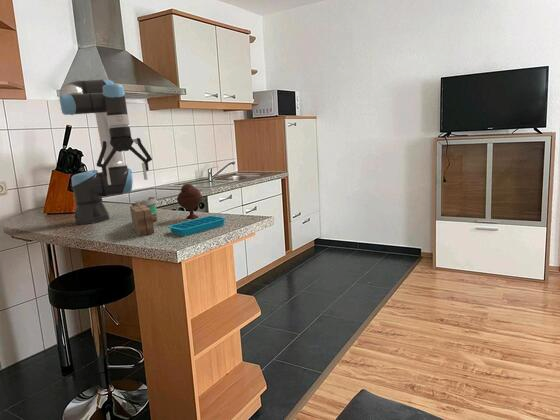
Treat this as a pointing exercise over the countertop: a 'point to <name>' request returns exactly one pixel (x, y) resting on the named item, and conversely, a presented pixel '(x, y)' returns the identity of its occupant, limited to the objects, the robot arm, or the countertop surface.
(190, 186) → the ice cream bowl
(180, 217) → the countertop surface
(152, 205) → the food container
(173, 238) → the countertop surface
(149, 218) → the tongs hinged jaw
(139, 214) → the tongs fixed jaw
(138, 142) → the robot arm
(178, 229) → the ice cube tray
